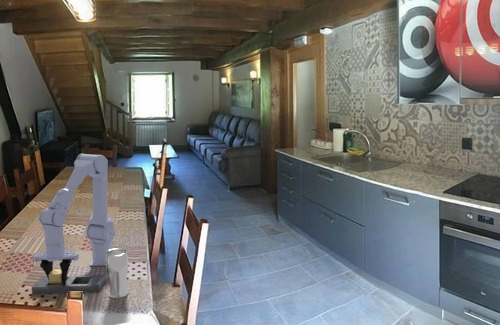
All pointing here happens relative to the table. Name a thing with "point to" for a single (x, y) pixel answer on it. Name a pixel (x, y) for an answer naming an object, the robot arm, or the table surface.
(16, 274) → the table surface
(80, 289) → the rail
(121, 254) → the beer glass
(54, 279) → the block
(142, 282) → the table surface
